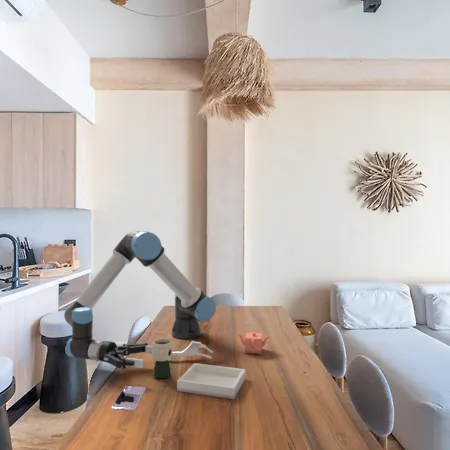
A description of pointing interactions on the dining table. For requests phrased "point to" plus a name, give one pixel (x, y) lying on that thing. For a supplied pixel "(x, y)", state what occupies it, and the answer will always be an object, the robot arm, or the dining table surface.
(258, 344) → the teapot
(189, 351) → the white flat pronged piece
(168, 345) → the character mug
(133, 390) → the mobile phone
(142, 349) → the robot arm
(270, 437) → the dining table surface
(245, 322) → the dining table surface
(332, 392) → the dining table surface
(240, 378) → the tray
